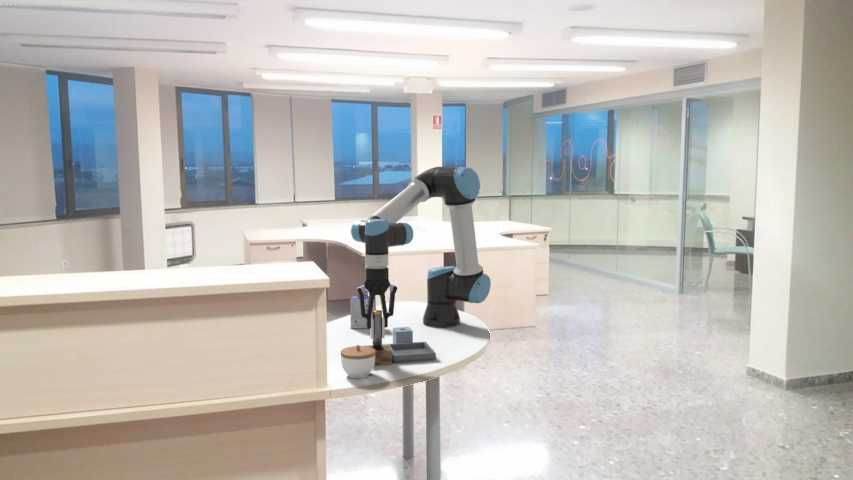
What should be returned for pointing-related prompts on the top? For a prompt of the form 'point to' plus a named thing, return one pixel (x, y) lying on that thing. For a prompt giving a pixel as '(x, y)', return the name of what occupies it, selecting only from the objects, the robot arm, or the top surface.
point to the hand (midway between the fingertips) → (377, 337)
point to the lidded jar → (358, 360)
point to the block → (402, 335)
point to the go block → (383, 355)
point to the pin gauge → (377, 329)
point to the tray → (411, 352)
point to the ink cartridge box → (359, 311)
